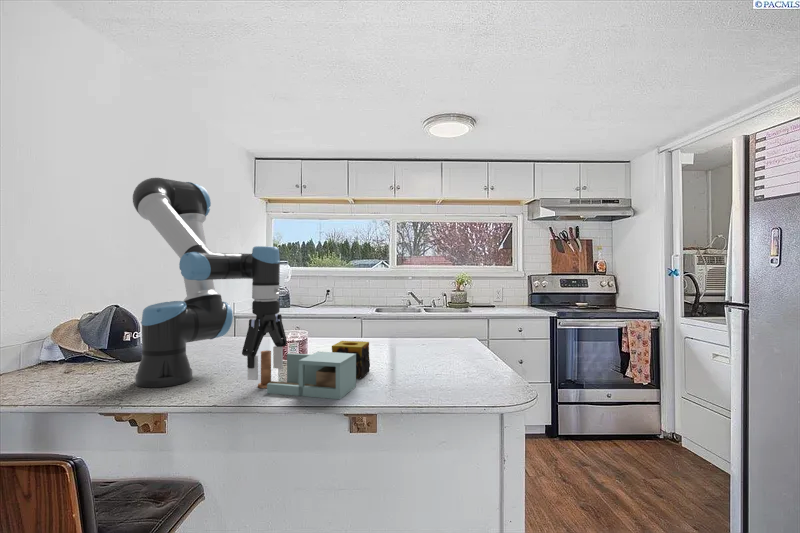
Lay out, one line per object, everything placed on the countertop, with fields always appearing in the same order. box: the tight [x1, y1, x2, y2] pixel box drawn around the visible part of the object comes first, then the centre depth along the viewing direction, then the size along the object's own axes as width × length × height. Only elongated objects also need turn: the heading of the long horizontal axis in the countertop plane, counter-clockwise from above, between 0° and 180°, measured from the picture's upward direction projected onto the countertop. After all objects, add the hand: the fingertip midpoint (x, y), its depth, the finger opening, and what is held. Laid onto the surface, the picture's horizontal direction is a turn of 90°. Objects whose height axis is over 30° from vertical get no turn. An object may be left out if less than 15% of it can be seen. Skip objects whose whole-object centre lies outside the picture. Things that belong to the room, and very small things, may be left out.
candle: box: [331, 340, 371, 380], centre depth 143 cm, size 10×10×10 cm
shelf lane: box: [266, 351, 357, 400], centre depth 126 cm, size 21×12×10 cm, turn 76°
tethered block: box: [257, 349, 336, 389], centre depth 127 cm, size 25×6×10 cm, turn 76°
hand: (265, 373), depth 130 cm, fingers open, 13 cm apart
